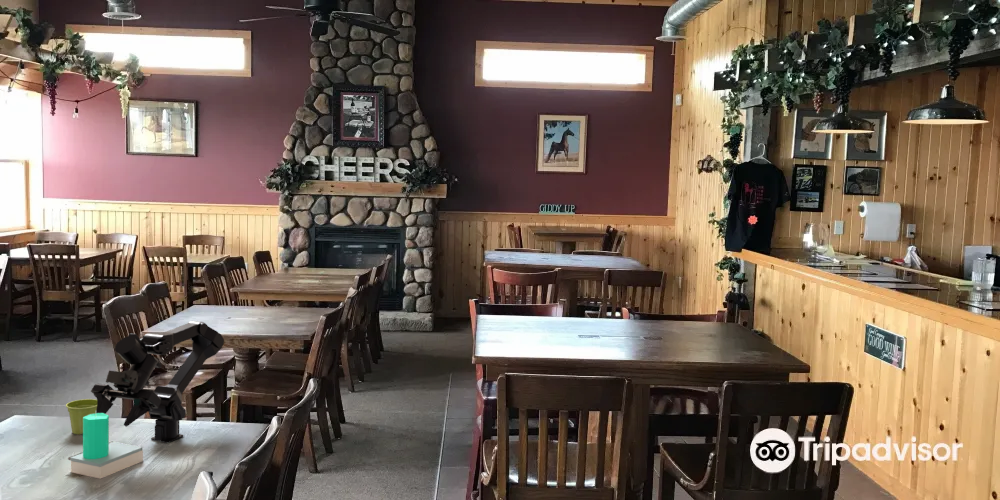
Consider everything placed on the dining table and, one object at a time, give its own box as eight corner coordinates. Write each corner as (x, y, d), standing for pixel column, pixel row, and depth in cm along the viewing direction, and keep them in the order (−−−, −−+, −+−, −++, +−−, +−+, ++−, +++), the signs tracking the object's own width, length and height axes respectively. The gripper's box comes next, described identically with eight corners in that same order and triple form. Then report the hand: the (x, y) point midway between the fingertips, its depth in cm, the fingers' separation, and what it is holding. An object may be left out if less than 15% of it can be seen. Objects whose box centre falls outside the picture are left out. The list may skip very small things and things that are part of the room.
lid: (111, 443, 213) (111, 441, 213) (142, 450, 210) (142, 447, 210) (68, 460, 200) (68, 457, 200) (99, 467, 197) (99, 463, 196)
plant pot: (108, 429, 234) (108, 401, 234) (82, 438, 226) (82, 409, 225) (85, 425, 237) (84, 397, 237) (58, 433, 229) (58, 405, 228)
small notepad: (114, 455, 213) (114, 444, 213) (142, 461, 210) (142, 450, 210) (71, 472, 200) (71, 461, 200) (100, 478, 197) (100, 467, 197)
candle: (89, 460, 198) (89, 415, 197) (78, 455, 202) (78, 410, 201) (112, 455, 203) (113, 410, 202) (101, 449, 206) (101, 405, 205)
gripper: (95, 354, 211) (64, 405, 202) (153, 361, 207) (124, 413, 197) (116, 375, 220) (87, 425, 210) (173, 382, 215) (146, 433, 205)
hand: (110, 423), depth 205 cm, fingers open, 9 cm apart
